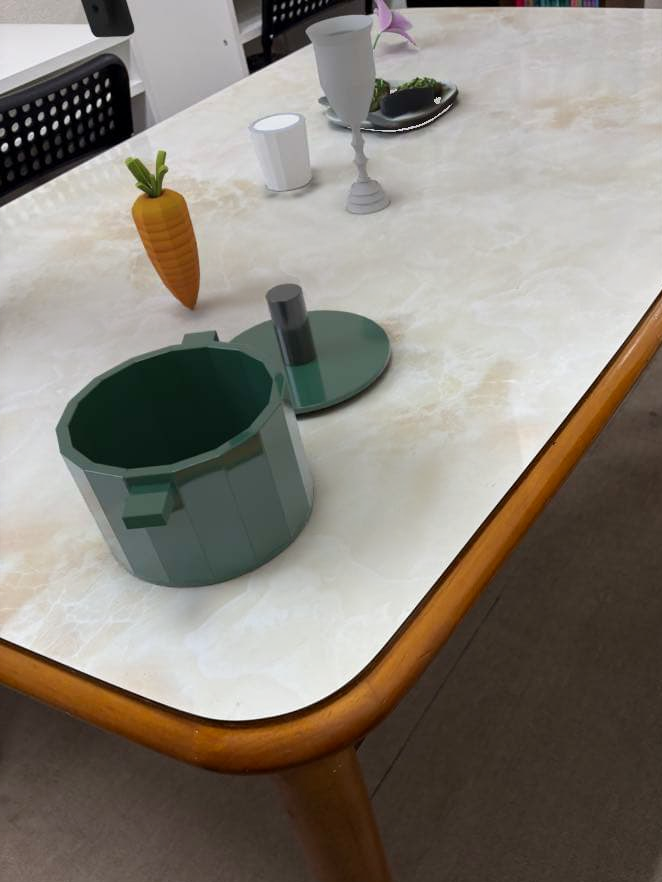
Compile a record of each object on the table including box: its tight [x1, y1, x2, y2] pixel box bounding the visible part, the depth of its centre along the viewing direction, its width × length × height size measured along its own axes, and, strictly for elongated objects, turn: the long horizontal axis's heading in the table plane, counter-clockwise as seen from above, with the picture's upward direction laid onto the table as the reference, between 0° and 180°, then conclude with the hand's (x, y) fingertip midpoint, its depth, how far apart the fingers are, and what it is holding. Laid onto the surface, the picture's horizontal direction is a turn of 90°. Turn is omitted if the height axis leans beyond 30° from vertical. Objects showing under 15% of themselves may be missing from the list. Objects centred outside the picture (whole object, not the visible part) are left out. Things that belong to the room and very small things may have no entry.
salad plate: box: [317, 76, 460, 134], centre depth 118 cm, size 19×18×5 cm
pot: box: [55, 330, 314, 588], centre depth 58 cm, size 15×20×10 cm
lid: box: [228, 282, 392, 415], centre depth 71 cm, size 16×16×7 cm
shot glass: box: [247, 112, 313, 192], centre depth 103 cm, size 7×7×7 cm
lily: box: [372, 0, 420, 51], centre depth 139 cm, size 12×12×10 cm
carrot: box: [124, 150, 201, 311], centre depth 79 cm, size 5×5×15 cm
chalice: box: [305, 14, 390, 215], centre depth 91 cm, size 7×7×18 cm
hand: (154, 14), depth 61 cm, fingers open, 9 cm apart
